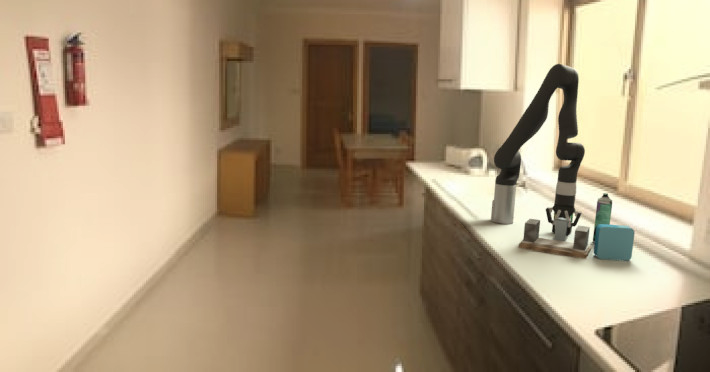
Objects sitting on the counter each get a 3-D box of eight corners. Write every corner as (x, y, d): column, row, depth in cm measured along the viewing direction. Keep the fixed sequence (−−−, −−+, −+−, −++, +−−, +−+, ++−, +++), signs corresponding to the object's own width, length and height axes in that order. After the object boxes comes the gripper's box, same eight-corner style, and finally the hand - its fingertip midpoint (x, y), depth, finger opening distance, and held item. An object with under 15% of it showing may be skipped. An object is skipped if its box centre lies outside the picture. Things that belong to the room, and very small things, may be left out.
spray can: (607, 242, 234) (613, 193, 230) (607, 245, 229) (613, 195, 225) (593, 240, 236) (598, 191, 232) (592, 243, 231) (597, 193, 228)
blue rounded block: (626, 257, 213) (630, 225, 211) (631, 261, 208) (635, 228, 206) (592, 255, 214) (596, 223, 212) (596, 258, 210) (600, 226, 208)
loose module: (553, 240, 231) (555, 220, 230) (556, 236, 237) (558, 217, 236) (564, 241, 229) (566, 222, 228) (567, 238, 235) (569, 218, 234)
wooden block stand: (518, 247, 220) (520, 223, 218) (526, 239, 232) (528, 217, 230) (586, 258, 209) (588, 233, 207) (590, 249, 221) (593, 226, 219)
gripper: (545, 191, 230) (540, 233, 233) (583, 196, 224) (578, 239, 227) (548, 189, 237) (544, 230, 240) (585, 193, 230) (581, 235, 233)
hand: (560, 234), depth 233 cm, fingers closed on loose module, 4 cm apart
